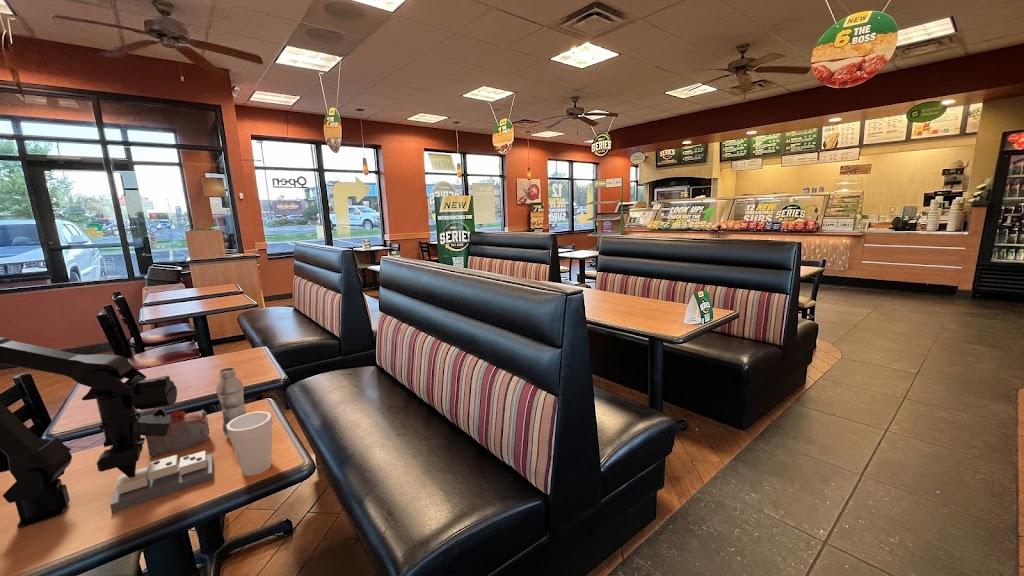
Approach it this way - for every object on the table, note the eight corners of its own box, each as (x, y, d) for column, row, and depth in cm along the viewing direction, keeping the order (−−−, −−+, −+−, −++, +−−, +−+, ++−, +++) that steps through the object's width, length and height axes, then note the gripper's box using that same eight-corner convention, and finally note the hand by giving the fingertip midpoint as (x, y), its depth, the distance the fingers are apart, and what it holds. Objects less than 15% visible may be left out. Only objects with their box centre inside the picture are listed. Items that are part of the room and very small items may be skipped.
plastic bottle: (238, 441, 117) (227, 375, 113) (218, 439, 118) (206, 373, 114) (256, 429, 123) (246, 366, 119) (237, 428, 124) (226, 364, 120)
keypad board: (112, 512, 90) (110, 504, 90) (119, 488, 98) (118, 480, 98) (213, 479, 100) (211, 472, 100) (213, 460, 108) (211, 453, 108)
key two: (149, 480, 95) (147, 471, 95) (151, 469, 99) (150, 461, 99) (177, 472, 98) (175, 463, 97) (178, 462, 102) (176, 453, 101)
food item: (211, 431, 123) (205, 400, 121) (211, 443, 116) (205, 411, 114) (151, 448, 115) (144, 415, 113) (147, 461, 108) (139, 427, 107)
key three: (180, 475, 98) (179, 466, 98) (181, 465, 102) (180, 456, 102) (206, 467, 101) (205, 459, 101) (206, 457, 105) (205, 449, 105)
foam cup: (286, 462, 107) (279, 415, 104) (251, 483, 98) (242, 433, 96) (262, 453, 111) (255, 408, 108) (226, 473, 102) (217, 425, 100)
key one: (117, 494, 92) (115, 485, 92) (121, 482, 96) (119, 474, 96) (147, 485, 95) (145, 476, 94) (150, 474, 99) (148, 466, 98)
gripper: (161, 418, 89) (174, 483, 92) (168, 389, 104) (179, 445, 107) (89, 435, 83) (105, 504, 86) (107, 401, 98) (121, 461, 101)
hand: (132, 475), depth 95 cm, fingers closed, pressing on key one
